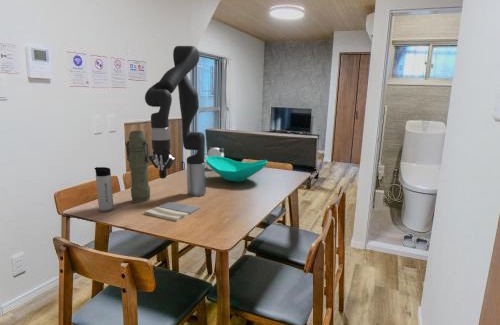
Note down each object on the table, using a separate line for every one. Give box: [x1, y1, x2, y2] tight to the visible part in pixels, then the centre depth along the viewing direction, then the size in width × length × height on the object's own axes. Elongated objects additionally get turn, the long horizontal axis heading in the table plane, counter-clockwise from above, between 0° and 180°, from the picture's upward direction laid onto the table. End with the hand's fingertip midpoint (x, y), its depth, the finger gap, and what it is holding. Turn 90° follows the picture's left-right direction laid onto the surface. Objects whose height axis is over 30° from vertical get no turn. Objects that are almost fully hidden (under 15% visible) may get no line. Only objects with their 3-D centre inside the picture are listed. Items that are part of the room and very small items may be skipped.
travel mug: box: [94, 166, 115, 213], centre depth 151 cm, size 6×7×20 cm
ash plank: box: [143, 206, 190, 222], centre depth 146 cm, size 8×18×2 cm, turn 64°
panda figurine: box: [207, 146, 225, 171], centre depth 237 cm, size 12×11×15 cm
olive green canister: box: [125, 130, 151, 204], centre depth 162 cm, size 9×12×35 cm
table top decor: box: [205, 156, 268, 183], centre depth 205 cm, size 40×28×13 cm
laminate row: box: [157, 201, 201, 215], centre depth 153 cm, size 8×18×2 cm, turn 64°
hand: (163, 178), depth 142 cm, fingers closed
